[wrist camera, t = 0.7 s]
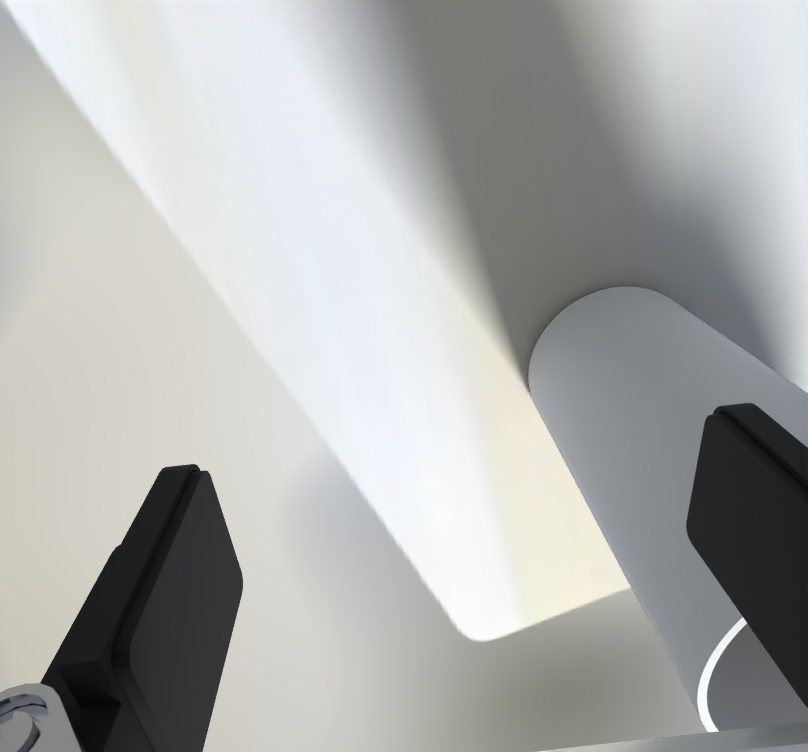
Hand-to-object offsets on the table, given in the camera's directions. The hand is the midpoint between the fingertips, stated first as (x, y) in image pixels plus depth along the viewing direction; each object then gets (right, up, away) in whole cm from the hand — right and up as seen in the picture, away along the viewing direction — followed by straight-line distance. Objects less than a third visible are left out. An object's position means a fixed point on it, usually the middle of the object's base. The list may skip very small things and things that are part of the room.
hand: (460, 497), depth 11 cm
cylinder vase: (+14, +3, +32) cm, 35 cm away
